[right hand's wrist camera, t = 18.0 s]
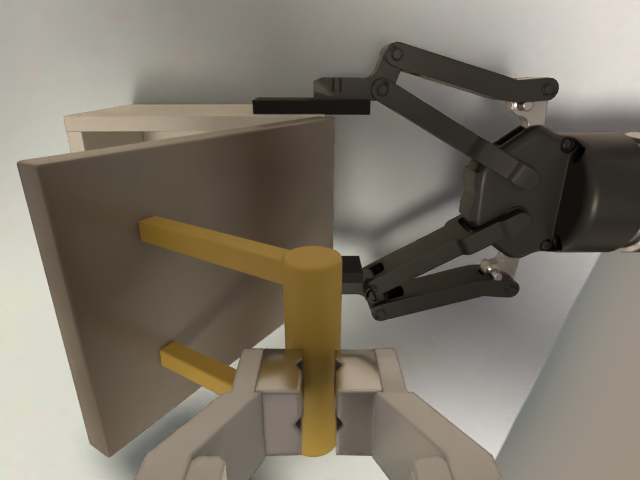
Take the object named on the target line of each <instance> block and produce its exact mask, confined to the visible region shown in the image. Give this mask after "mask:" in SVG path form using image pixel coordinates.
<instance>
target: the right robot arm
mask: <svg viewBox="0 0 640 480" xmlns="http://www.w3.org/2000/svg"><path fill="white" fill-rule="evenodd" d="M334 373H335V378H334V417H335V440H336V455H358V456H373V459H374V460H375V461H376V463H377V464H378V465H379V467H380V468H381V469H382V471H383V472H384V473H385V474H386V476H387V477H388V478H389V480H503V478H502V476H501V473H500V471H499V469H498V467H497V464H496V462H495V460H494V458H493V455H492V454H490V453H489V452H488V451H487V450H485V449H484V448H483V447H481V446H480V445H479V444H478V443H476V442H475V441H474V440H473V439H471V438H470V437H469V436H468V435H466V434H465V433H464V432H463V431H461V430H460V429H459V428H458V427H456V426H455V425H454V424H453V423H451V422H450V421H449V420H448V419H446V418H445V417H444V416H443V415H441V414H440V413H439V412H438V411H436V410H435V409H434V408H433V407H431V406H430V405H429V404H428V403H426V402H425V401H424V400H423V399H421V398H420V397H419V396H418V395H416V394H415V393H414V392H407V389H406V385H405V382H404V378H403V375H402V371H401V368H400V364H399V360H398V357H397V353H396V350H395V349H394V348H386V349H367V350H335V352H334ZM303 418H304V349H244V350H243V351H242V353H241V357H240V360H239V364H238V367H237V371H236V375H235V378H234V382H233V385H232V389H231V392H224V393H223V394H222V395H220V396H219V397H218V398H217V399H215V400H214V401H213V402H211V403H210V404H209V405H208V406H206V407H205V408H204V409H203V410H201V411H200V412H199V413H198V414H196V415H195V416H194V417H192V418H191V419H190V420H189V421H187V422H186V423H185V424H184V425H182V426H181V427H180V428H179V429H177V430H176V431H175V432H173V433H172V434H171V435H170V436H168V437H167V438H166V439H165V440H163V441H162V442H161V443H159V444H158V445H157V446H156V447H154V448H153V449H152V450H151V451H149V452H148V453H147V454H146V455H145V457H144V459H143V461H142V463H141V465H140V468H139V470H138V472H137V474H136V476H135V478H134V480H249V479H250V477H251V476H252V475H253V473H254V472H255V471H256V470H257V468H258V467H259V466H260V464H261V463H262V462H263V460H264V459H265V456H280V455H302V442H303Z"/></svg>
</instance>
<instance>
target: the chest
mask: <svg viewBox="0 0 640 480" xmlns="http://www.w3.org/2000/svg"><path fill="white" fill-rule="evenodd" d="M316 116H320V117H325V114H253V104H131V105H125V106H119V107H113V108H108V109H102V110H96V111H90V112H85V113H79V114H73V115H67V116H63V118H64V122H65V127H66V131H67V136H68V141H69V146H70V150H71V153H75V152H81V151H88V150H95V149H101V148H108V147H115V146H122V145H128V144H135V143H142V142H148V141H155V140H162V139H168V138H175V137H182V136H189V135H195V134H202V133H209V132H215V131H222V130H229V129H236V128H242V127H249V126H256V125H262V124H269V123H276V122H282V121H289V120H296V119H303V118H309V117H316Z"/></svg>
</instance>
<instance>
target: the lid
mask: <svg viewBox="0 0 640 480" xmlns="http://www.w3.org/2000/svg"><path fill="white" fill-rule="evenodd" d="M17 167H18V171H19V175H20V178H21V182H22V186H23V190H24V194H25V197H26V201H27V205H28V209H29V213H30V217H31V220H32V224H33V228H34V232H35V236H36V240H37V243H38V247H39V251H40V255H41V259H42V262H43V266H44V270H45V274H46V278H47V282H48V285H49V289H50V293H51V297H52V301H53V304H54V308H55V312H56V316H57V320H58V324H59V327H60V331H61V335H62V339H63V343H64V347H65V350H66V354H67V358H68V362H69V366H70V369H71V373H72V377H73V381H74V385H75V389H76V392H77V396H78V400H79V404H80V408H81V411H82V415H83V419H84V423H85V427H86V431H87V434H88V438H89V442H90V444H91V445H92V446H94V447H95V448H96V449H97V450H99V451H100V452H101V453H103V454H104V455H105V456H107V457H111V456H112V455H113V454H115V453H116V452H117V451H119V450H120V449H121V448H122V447H124V446H125V445H126V444H128V443H129V442H130V441H132V440H133V439H134V438H135V437H137V436H138V435H139V434H141V433H142V432H143V431H145V430H146V429H147V428H148V427H150V426H151V425H152V424H154V423H155V422H156V421H158V420H159V419H160V418H161V417H163V416H164V415H165V414H167V413H168V412H169V411H171V410H172V409H173V408H174V407H176V406H177V405H178V404H180V403H181V402H182V401H184V400H185V399H186V398H187V397H189V396H190V395H191V394H193V393H194V392H195V391H197V390H198V389H199V388H200V387H202V386H203V387H205V388H207V389H209V390H211V391H213V392H215V393H217V394H219V395H222V394H223V393H224V392H231V389H232V385H233V382H234V378H235V375H236V371H237V370H236V369H234V368H232V367H229V365H230V364H232V363H233V362H234V361H236V360H237V359H238V358H239V357H241V353H242V351H243V350H244V349H251V348H252V347H254V346H255V345H256V344H258V343H259V342H260V341H262V340H263V339H264V338H265V337H267V336H268V335H269V334H271V333H272V332H273V331H275V330H276V329H277V328H278V327H280V326H281V325H282V324H284V323H285V347H286V349H304V418H303V442H302V455H305V456H309V457H318V456H322V455H325V454H327V453H329V452H330V451H331V450H333V448H334V447H335V446H336V440H335V417H334V378H335V373H334V352H335V350H341V301H342V257H341V255H340V253H338V252H337V251H336V250H333V200H334V118H333V117H320V116H316V117H309V118H303V119H296V120H289V121H282V122H276V123H269V124H262V125H256V126H249V127H242V128H236V129H229V130H222V131H215V132H209V133H202V134H195V135H189V136H182V137H175V138H168V139H162V140H155V141H148V142H142V143H135V144H128V145H122V146H115V147H108V148H101V149H95V150H88V151H81V152H75V153H68V154H61V155H55V156H48V157H41V158H34V159H28V160H21V161H18V162H17Z"/></svg>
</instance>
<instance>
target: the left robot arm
mask: <svg viewBox="0 0 640 480" xmlns="http://www.w3.org/2000/svg"><path fill="white" fill-rule="evenodd" d="M400 71H402V72H405V73H409V74H412V75H415V76H418V77H421V78H425V79H428V80H431V81H434V82H437V83H441V84H444V85H447V86H450V87H453V88H457V89H460V90H463V91H466V92H469V93H473V94H476V95H479V96H482V97H486V98H490V99H495V100H501V101H505V108H506V111H507V112H508V113H510V114H514V115H517V116H518V117H519V118H520V120H521V125H520V126H518V127H517V128H515V129H514V130H512V131H511V132H509V133H508V134H506V135H505V136H503V137H502V138H500V139H499V140H497V141H496V142H494V143H493V144H491V143H490V142H488V141H486V140H485V139H483V138H481V137H479V136H478V135H476V134H474V133H473V132H471V131H470V130H468V129H466V128H465V127H463V126H462V125H460V124H458V123H457V122H455V121H454V120H452V119H450V118H449V117H447V116H446V115H444V114H442V113H441V112H439V111H438V110H436V109H434V108H433V107H431V106H430V105H428V104H427V103H425V102H423V101H422V100H420V99H419V98H417V97H415V96H414V95H412V94H411V93H409V92H407V91H406V90H404V89H403V88H401V87H399V86H398V85H396V84H395V83H396V81H397V78H398V76H399V73H400ZM558 90H559V84H558V82H557V81H556V80H555V79H554V78H537V77H526V78H510V77H507V76H504V75H501V74H498V73H495V72H492V71H488V70H485V69H482V68H479V67H476V66H473V65H470V64H467V63H463V62H460V61H457V60H454V59H451V58H448V57H445V56H442V55H439V54H435V53H432V52H429V51H426V50H423V49H420V48H417V47H414V46H410V45H407V44H404V43H401V42H395V43H392V44H389V45H387V46H385V47H384V48H382V50H381V52H380V56H379V59H378V62H377V64H376V67H375V69H374V71H373V72H372V74H370V75H369V76H367V77H363V78H320V79H318V80H315V81H314V98H256V99H254V100H252V103H253V114H325V115H370V101H378V102H380V103H381V104H383V105H385V106H386V107H388V108H390V109H391V110H393V111H394V112H396V113H398V114H399V115H401V116H403V117H404V118H406V119H408V120H409V121H411V122H412V123H414V124H416V125H417V126H419V127H421V128H422V129H424V130H425V131H427V132H429V133H430V134H432V135H434V136H435V137H437V138H438V139H440V140H442V141H443V142H445V143H447V144H448V145H450V146H452V147H453V148H455V149H456V150H458V151H459V152H461V153H463V154H464V155H466V156H468V157H469V158H471V159H472V160H471V161H470V163H469V165H468V166H465V169H464V177H463V178H464V185H465V191H464V193H463V196H462V198H461V201H460V208H459V212H460V213H461V215H459V216H457V217H455V218H453V219H451V220H449V221H448V222H447V223H446V224H445V226H444V227H442V228H440V229H438V230H436V231H434V232H432V233H430V234H428V235H426V236H424V237H422V238H420V239H418V240H416V241H414V242H413V243H411V244H409V245H407V246H405V247H403V248H401V249H399V250H397V251H395V252H393V253H391V254H389V255H387V256H385V257H383V258H381V259H379V260H377V261H375V262H373V263H371V264H369V265H367V266H365V267H363V268H362V266H361V262H360V258H359V256H341V257H342V294H360V295H362V296H364V297H365V299H366V300H367V302H368V304H369V307H370V310H371V313H372V316H373V318H374V319H375V320H378V321H383V320H387V319H391V318H395V317H399V316H403V315H407V314H412V313H416V312H420V311H424V310H428V309H432V308H436V307H440V306H444V305H448V304H452V303H457V302H461V301H465V300H469V299H473V298H477V297H481V296H493V297H513V296H515V295H516V294H517V293H518V291H519V285H518V283H517V282H516V281H515V280H514V276H515V272H516V268H517V265H518V261H519V258H522V257H524V256H527V255H529V254H531V253H534V252H538V251H548V252H611V251H618V252H640V132H629V133H625V134H623V133H619V132H554V131H552V130H551V129H549V128H548V127H546V126H545V119H546V111H547V102H548V100H551V99H552V98H554V97H555V96H556V94H557V93H558ZM490 245H492V246H493V247H495V248H496V249H497V250H499V253H498V255H497V256H496V257H494V258H492V259H483V260H482V261H481V265H467V266H462V267H458V268H454V269H450V270H446V271H442V272H438V273H434V274H430V275H427V276H423V277H419V278H416V277H418V276H420V275H422V274H424V273H426V272H428V271H430V270H432V269H434V268H436V267H438V266H440V265H442V264H444V263H446V262H448V261H450V260H452V259H454V258H456V257H458V256H461V255H471V254H474V253H476V252H478V251H480V250H482V249H484V248H486V247H488V246H490ZM414 278H415V279H414Z"/></svg>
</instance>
